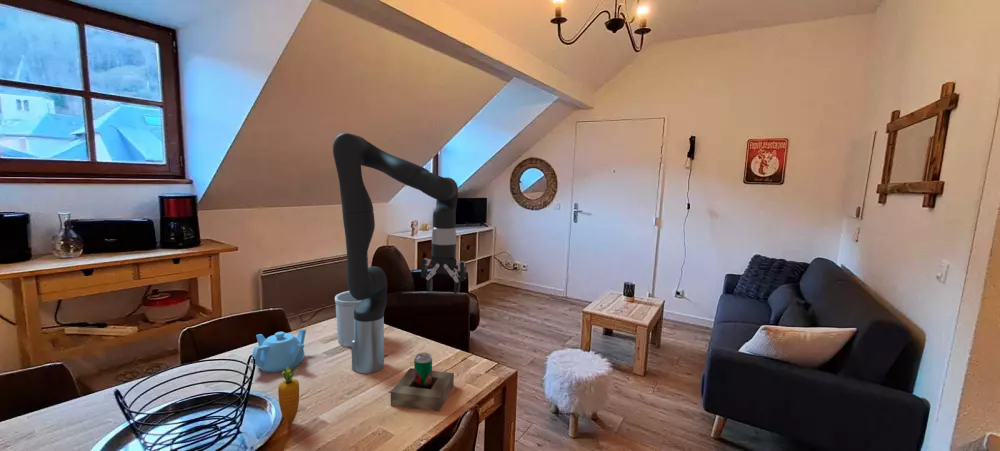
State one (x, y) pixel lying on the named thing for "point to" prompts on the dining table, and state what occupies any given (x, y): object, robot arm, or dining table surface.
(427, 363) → the soda can
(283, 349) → the teapot
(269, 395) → the dining table surface
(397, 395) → the socket block
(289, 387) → the carrot
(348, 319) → the utensil holder
